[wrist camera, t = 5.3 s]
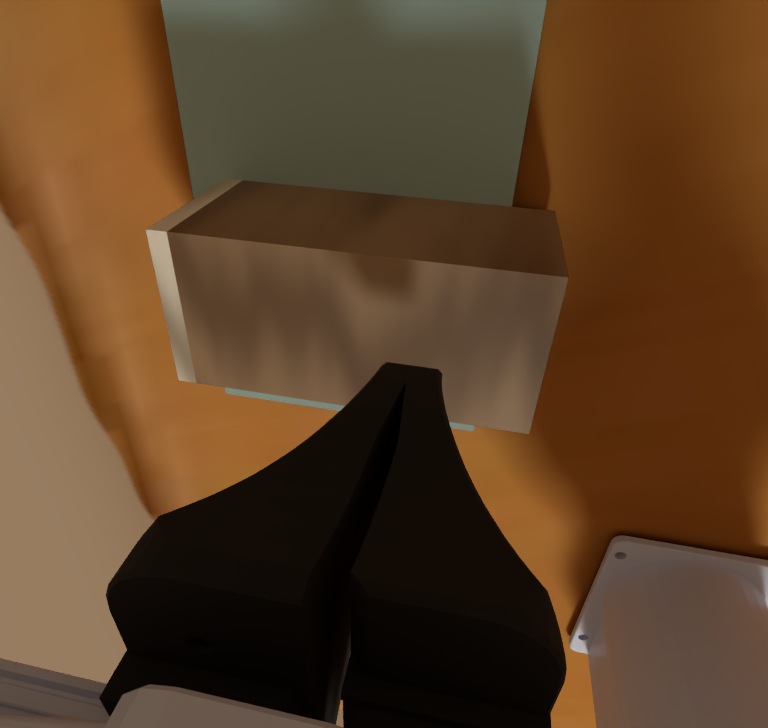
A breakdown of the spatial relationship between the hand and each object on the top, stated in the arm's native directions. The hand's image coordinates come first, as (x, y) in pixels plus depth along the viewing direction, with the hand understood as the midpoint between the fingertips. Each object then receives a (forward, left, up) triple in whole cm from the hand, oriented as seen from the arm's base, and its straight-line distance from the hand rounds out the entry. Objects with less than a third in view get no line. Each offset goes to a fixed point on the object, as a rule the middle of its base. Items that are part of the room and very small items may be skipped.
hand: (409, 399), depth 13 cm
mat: (+1, +3, -8) cm, 9 cm away
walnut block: (0, -3, -5) cm, 6 cm away
